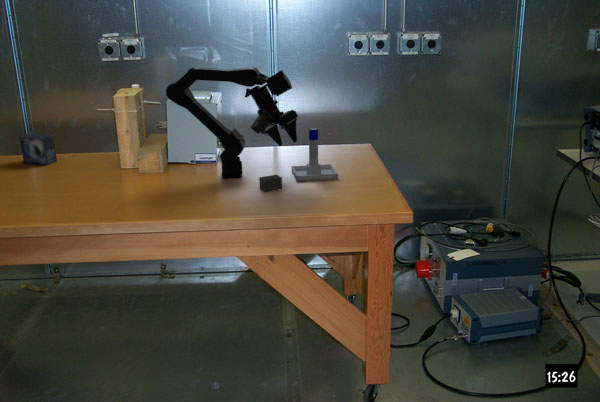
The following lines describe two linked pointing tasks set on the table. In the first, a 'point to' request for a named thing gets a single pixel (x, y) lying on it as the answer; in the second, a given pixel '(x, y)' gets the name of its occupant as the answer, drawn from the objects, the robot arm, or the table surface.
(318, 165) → the bolt
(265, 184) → the block
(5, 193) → the table surface
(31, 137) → the small box
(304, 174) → the tray
